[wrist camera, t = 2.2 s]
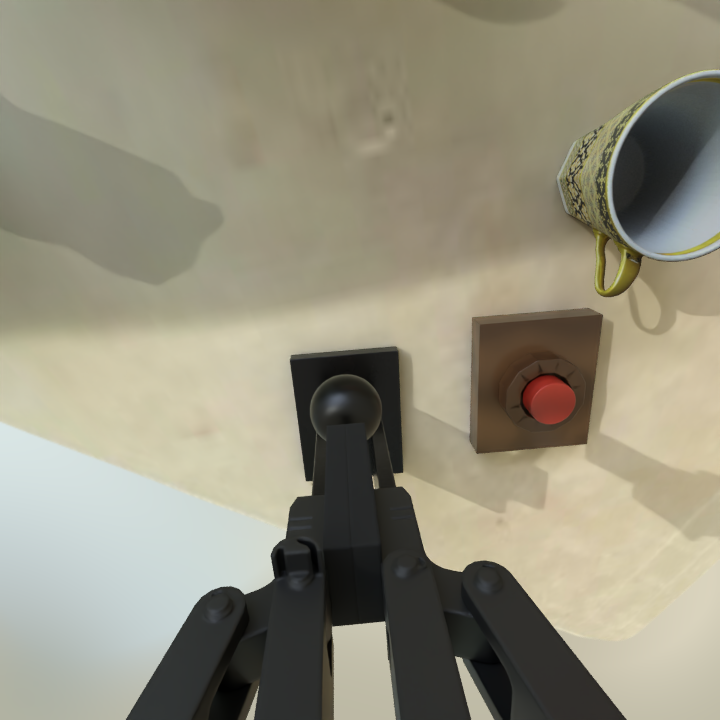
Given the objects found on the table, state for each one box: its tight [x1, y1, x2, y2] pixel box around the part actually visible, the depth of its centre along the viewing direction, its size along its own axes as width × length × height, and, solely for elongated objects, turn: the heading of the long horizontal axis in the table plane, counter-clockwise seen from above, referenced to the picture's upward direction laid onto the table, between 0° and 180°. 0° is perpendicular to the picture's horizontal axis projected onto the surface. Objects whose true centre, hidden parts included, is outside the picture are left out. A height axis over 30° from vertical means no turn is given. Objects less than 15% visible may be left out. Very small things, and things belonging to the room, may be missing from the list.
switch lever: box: [310, 374, 382, 441], centre depth 25 cm, size 13×3×3 cm, turn 4°
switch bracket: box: [290, 347, 403, 496], centre depth 34 cm, size 12×9×15 cm
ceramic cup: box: [557, 69, 720, 297], centre depth 31 cm, size 13×10×10 cm
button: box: [523, 375, 576, 424], centre depth 36 cm, size 4×4×2 cm
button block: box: [470, 308, 603, 454], centre depth 39 cm, size 12×10×4 cm
